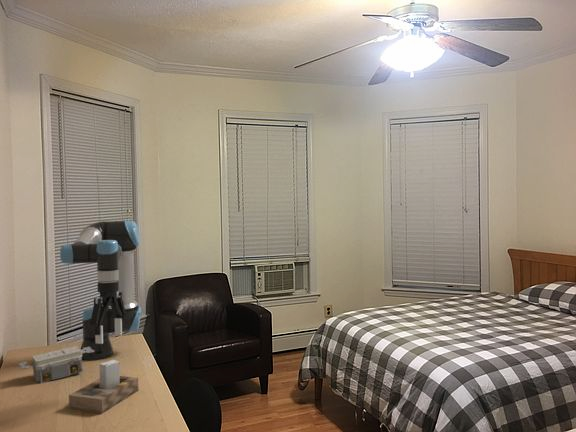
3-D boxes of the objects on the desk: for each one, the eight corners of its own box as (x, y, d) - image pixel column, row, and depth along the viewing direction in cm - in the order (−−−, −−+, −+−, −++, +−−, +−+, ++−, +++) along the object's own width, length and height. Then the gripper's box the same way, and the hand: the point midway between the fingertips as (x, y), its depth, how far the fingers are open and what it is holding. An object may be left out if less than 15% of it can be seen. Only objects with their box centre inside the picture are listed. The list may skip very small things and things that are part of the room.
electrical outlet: (97, 370, 219) (95, 348, 218) (24, 390, 203) (22, 366, 202) (90, 363, 229) (88, 342, 228) (19, 381, 212) (17, 358, 211)
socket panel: (107, 386, 202) (107, 373, 202) (138, 390, 198) (138, 377, 198) (68, 408, 181) (67, 394, 181) (102, 413, 177) (101, 398, 177)
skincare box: (113, 390, 196) (113, 359, 196) (120, 392, 193) (120, 361, 193) (99, 395, 191) (98, 363, 191) (106, 397, 188) (105, 365, 188)
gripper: (118, 276, 203) (119, 330, 204) (78, 286, 181) (79, 347, 182) (134, 276, 201) (135, 331, 202) (96, 286, 179) (97, 348, 179)
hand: (109, 339), depth 192 cm, fingers open, 11 cm apart
